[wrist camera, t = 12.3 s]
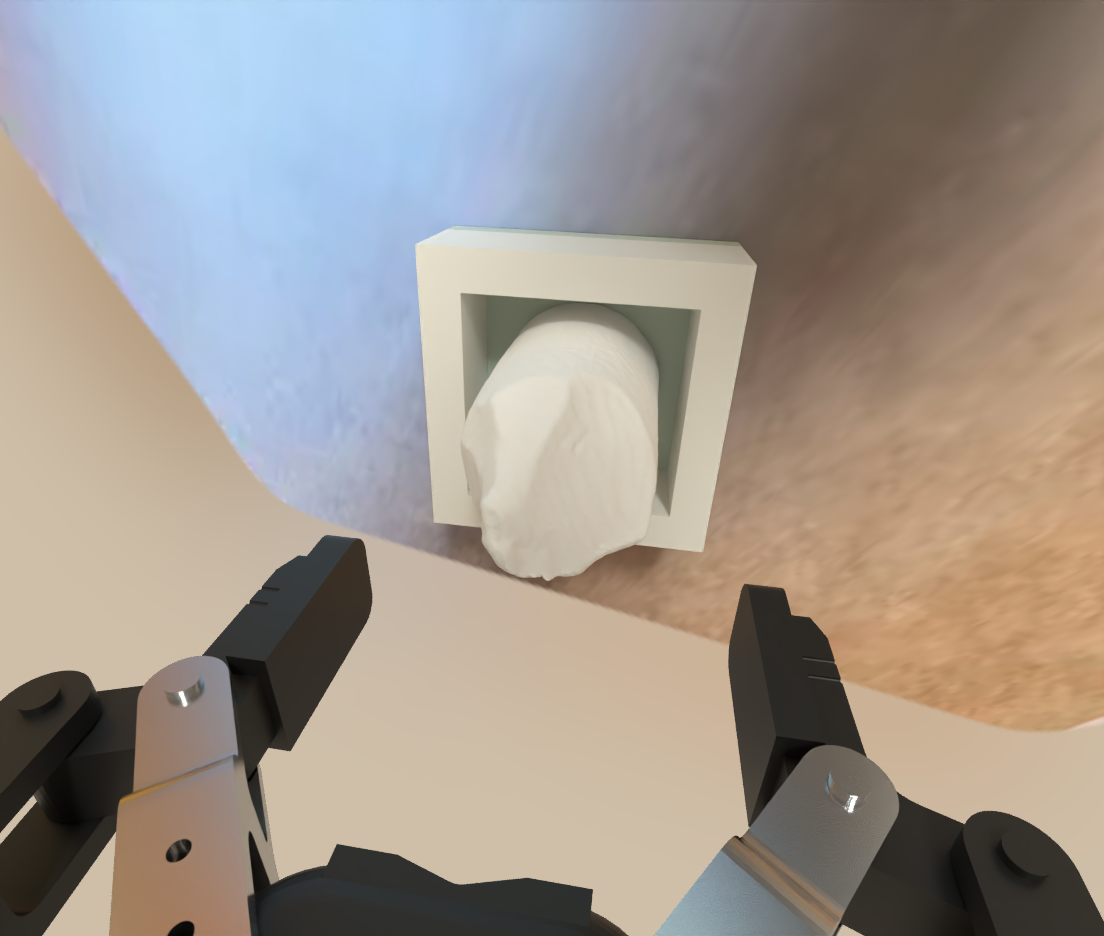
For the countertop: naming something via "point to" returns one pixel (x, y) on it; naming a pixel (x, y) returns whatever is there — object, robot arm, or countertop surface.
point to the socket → (603, 279)
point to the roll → (565, 443)
